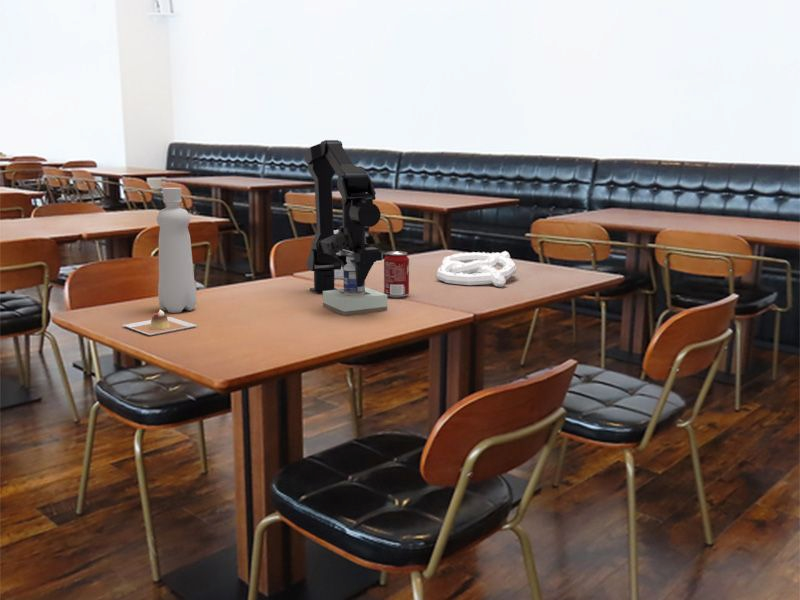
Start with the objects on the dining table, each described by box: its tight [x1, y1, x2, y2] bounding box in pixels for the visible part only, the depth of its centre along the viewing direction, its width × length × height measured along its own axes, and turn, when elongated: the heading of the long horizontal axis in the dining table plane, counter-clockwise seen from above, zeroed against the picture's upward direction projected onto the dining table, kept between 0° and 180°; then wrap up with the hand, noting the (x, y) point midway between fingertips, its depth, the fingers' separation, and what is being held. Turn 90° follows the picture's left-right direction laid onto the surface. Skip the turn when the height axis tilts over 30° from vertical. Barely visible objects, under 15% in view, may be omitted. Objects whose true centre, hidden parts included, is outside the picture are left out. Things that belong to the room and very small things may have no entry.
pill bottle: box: [343, 255, 366, 296], centre depth 193 cm, size 5×5×10 cm
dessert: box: [122, 309, 198, 337], centre depth 174 cm, size 12×12×5 cm
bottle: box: [155, 187, 198, 314], centre depth 189 cm, size 9×9×30 cm
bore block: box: [322, 286, 388, 317], centre depth 195 cm, size 12×12×4 cm
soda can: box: [383, 250, 410, 299], centre depth 209 cm, size 7×7×12 cm
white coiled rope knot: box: [435, 250, 518, 288], centre depth 237 cm, size 28×24×6 cm
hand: (354, 284), depth 194 cm, fingers closed on pill bottle, 5 cm apart
